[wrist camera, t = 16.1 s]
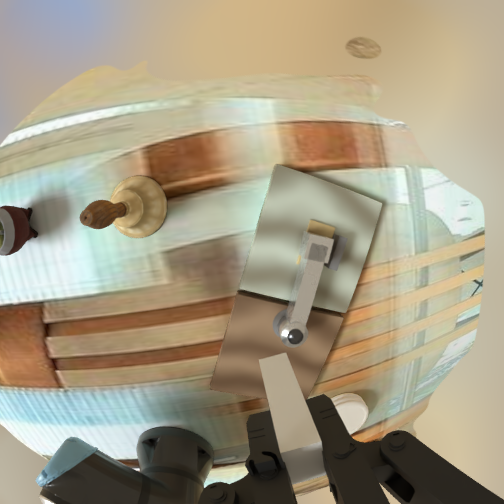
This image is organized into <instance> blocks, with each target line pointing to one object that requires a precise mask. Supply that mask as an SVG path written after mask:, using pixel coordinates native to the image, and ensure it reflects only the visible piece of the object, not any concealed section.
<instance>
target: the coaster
mask: <svg viewBox="0 0 504 504" xmlns="http://www.w3.org/2000/svg"><path fill="white" fill-rule="evenodd" d="M331 400H332V402H333V403H334V405H335V408H336V409H337V411H338V413H339V415H340V417H341V419H342V421H343V423H344V425H345V426H346V428H347V430H348V432H349V434H350V435H351V434H352V433H354V432H356V431H357V430H358V429H359V428H360V427H361V426H362V425H363V424H364V423H365V421H366V420H367V418H368V414H369V411H368V407H367V405H366V404H365V402H364V401H363V399H362V398H361V397H360V396H359V395H357V394H354V393H344V394H340V395H337V396H334V397H332V398H331Z"/></svg>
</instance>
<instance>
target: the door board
mask: <svg viewBox="0 0 504 504" xmlns="http://www.w3.org/2000/svg"><path fill="white" fill-rule="evenodd" d="M381 207H382V203H380V202H378V201H376V200H373V199H371V198H369V197H366V196H364V195H361V194H359V193H356V192H354V191H351V190H349V189H346V188H343V187H341V186H338V185H336V184H333V183H330V182H327V181H325V180H322V179H319V178H316V177H314V176H311V175H308V174H305V173H302V172H299V171H296V170H293V169H290V168H287V167H284V166H281V165H278V164H276V165H275V166H274V170H273V173H272V176H271V180H270V183H269V187H268V190H267V193H266V197H265V200H264V203H263V207H262V210H261V213H260V217H259V220H258V224H257V227H256V230H255V234H254V237H253V241H252V244H251V247H250V251H249V254H248V257H247V261H246V264H245V268H244V271H243V274H242V278H241V281H240V285H239V286H240V289H243V290H247V291H251V292H255V293H259V294H263V295H267V296H272V297H276V298H280V299H284V300H289V301H290V297H291V294H292V290H293V286H294V283H295V279H296V275H297V272H298V268H299V264H300V260H301V256H300V255H299V254H298V253H299V249H300V245H301V241H302V237H303V233H304V231H306V232H310V233H314V234H318V235H322V236H327V237H329V238H331V239H334V242H333V246H332V250H331V253H330V257H329V261H328V263H324V265H323V269H322V272H321V276H320V279H319V283H318V286H317V290H316V293H315V297H314V300H313V303H312V306H315V307H320V308H324V309H329V310H333V311H338V312H343V313H346V311H347V309H348V306H349V304H350V301H351V298H352V296H353V293H354V290H355V288H356V285H357V282H358V279H359V277H360V274H361V271H362V268H363V265H364V262H365V259H366V256H367V253H368V250H369V247H370V244H371V241H372V238H373V234H374V231H375V228H376V224H377V221H378V217H379V214H380V210H381ZM288 305H289V303H287V302H283V301H279V300H274V299H270V298H266V297H262V296H258V295H253V294H249V293H245V292H241V291H237V295H236V298H235V302H234V305H233V308H232V312H231V315H230V319H229V322H228V325H227V329H226V332H225V336H224V339H223V343H222V346H221V349H220V353H219V356H218V360H217V363H216V367H215V370H214V373H213V377H212V380H211V384H210V389H211V390H216V391H221V392H227V393H232V394H238V395H244V396H250V397H257V398H264V399H268V398H267V394H266V390H265V385H264V381H263V377H262V372H261V368H260V363H259V360H260V359H264V358H267V357H271V356H275V355H279V354H282V353H286V354H287V356H288V359H289V361H290V364H291V366H292V369H293V371H294V374H295V377H296V379H297V382H298V384H299V387H300V389H301V392H302V394H303V397H304V399H305V400H307V398H308V396H309V394H310V392H311V390H312V388H313V386H314V384H315V382H316V380H317V378H318V375H319V373H320V371H321V369H322V367H323V365H324V363H325V361H326V358H327V356H328V354H329V352H330V349H331V347H332V345H333V343H334V340H335V338H336V336H337V333H338V331H339V328H340V326H341V324H342V321H343V319H344V318H343V317H342V316H341V315H340V314H337V313H333V312H328V311H323V310H319V309H314V308H311V310H310V313H309V316H308V320H307V323H306V328H307V330H308V338H307V340H306V341H305V342H304V343H303V344H302V345H300V346H298V347H288V346H286V345H284V344H283V342H282V340H281V337H280V335H279V332H278V330H277V324H278V321H279V320H280V319H281V318H282V317H283V316H285V315H286V312H287V308H288Z"/></svg>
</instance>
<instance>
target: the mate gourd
mask: <svg viewBox="0 0 504 504" xmlns="http://www.w3.org/2000/svg"><path fill="white" fill-rule="evenodd" d="M31 213H32V209H31V208H28V209H24V208H18V207H14V206H2V207H0V255H2V256H3V255H10V254H13V253H15V252H17V251H19V250H20V249H21V248H22V246H23V245H24V244H25V243H26V241H27V240H29V239H31V238H32V237H35V238H36V237H37V235H38V233H37V232H36V231H35V230H33V229H32V228H31V227H30V226H29V219H30V216H31Z"/></svg>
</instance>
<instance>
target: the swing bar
mask: <svg viewBox="0 0 504 504" xmlns="http://www.w3.org/2000/svg"><path fill="white" fill-rule="evenodd" d="M333 242H334V239H331V238H329V237H327V236H322V235H318V234H314V233H310V232H306V231H304V233H303V237H302V241H301V245H300V249H299V253H298V254H299V255H300V256H301V260H300V264H299V268H298V272H297V275H296V279H295V283H294V286H293V290H292V294H291V297H290V301H289V305H288V308H287V312H286V315H285V316H283V317H282V318H281V319H280V320H279V321H278V324H277V330H278V332H279V335H280V337H281V340H282V342H283V344H284V345H286V346H288V347H298V346H300V345H302V344H303V343H304V342H305V341H306V340H307V338H308V330H307V328H306V323H307V320H308V316H309V313H310V310H311V307H312V303H313V300H314V297H315V293H316V290H317V286H318V283H319V279H320V276H321V272H322V269H323V265H324V263H328V261H329V257H330V253H331V250H332V246H333Z"/></svg>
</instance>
